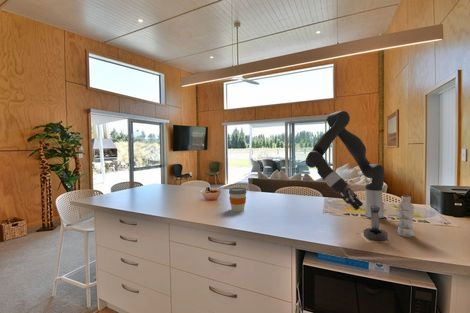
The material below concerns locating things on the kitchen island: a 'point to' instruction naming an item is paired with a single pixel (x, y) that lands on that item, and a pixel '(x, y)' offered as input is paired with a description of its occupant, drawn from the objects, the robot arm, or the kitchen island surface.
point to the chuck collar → (375, 235)
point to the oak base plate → (376, 241)
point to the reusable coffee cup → (237, 198)
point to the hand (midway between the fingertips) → (359, 207)
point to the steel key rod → (374, 219)
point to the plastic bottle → (405, 217)
